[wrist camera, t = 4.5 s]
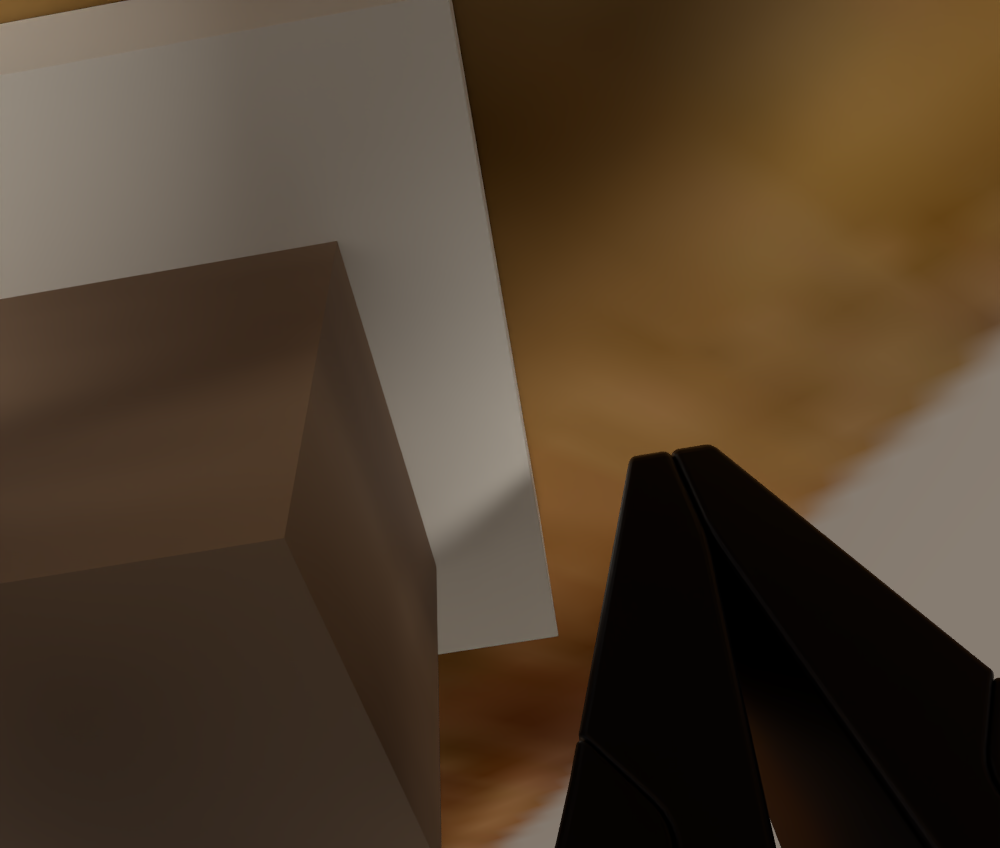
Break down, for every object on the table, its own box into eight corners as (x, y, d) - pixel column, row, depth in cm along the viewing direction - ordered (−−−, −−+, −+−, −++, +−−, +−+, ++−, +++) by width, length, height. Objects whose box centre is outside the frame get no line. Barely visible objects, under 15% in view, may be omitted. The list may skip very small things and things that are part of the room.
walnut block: (337, 240, 8) (284, 538, 5) (436, 566, 11) (441, 872, 8) (-145, 324, 8) (-483, 661, 5) (87, 621, 11) (-38, 940, 8)
